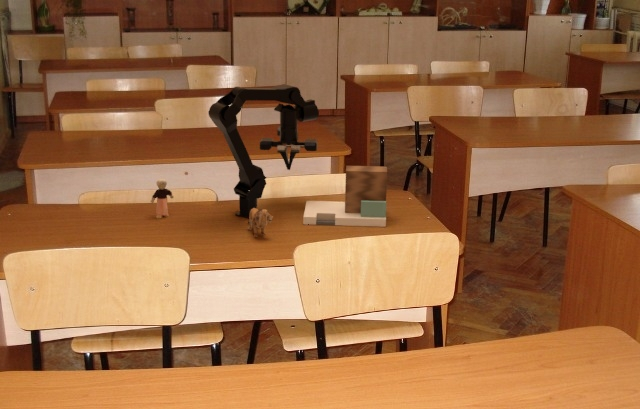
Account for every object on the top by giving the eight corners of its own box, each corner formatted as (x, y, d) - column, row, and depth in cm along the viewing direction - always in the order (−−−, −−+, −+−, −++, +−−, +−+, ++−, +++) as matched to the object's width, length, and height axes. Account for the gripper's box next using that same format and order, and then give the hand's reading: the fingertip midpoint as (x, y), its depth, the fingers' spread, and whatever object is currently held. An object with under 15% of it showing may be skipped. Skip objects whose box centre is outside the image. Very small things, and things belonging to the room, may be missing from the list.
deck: (303, 224, 248) (303, 201, 246) (306, 207, 263) (306, 186, 261) (385, 226, 247) (386, 204, 245) (384, 209, 262) (385, 188, 260)
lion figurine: (274, 238, 236) (274, 210, 234) (258, 241, 234) (258, 212, 231) (255, 223, 249) (255, 196, 246) (240, 225, 246) (239, 198, 243)
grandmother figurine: (157, 220, 250) (155, 182, 246) (150, 217, 252) (148, 179, 248) (176, 214, 255) (175, 177, 251) (169, 211, 258) (167, 174, 254)
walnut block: (344, 212, 251) (345, 170, 247) (345, 206, 257) (346, 165, 253) (385, 214, 251) (387, 172, 246) (385, 207, 256) (386, 166, 252)
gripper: (318, 118, 264) (318, 163, 269) (263, 117, 265) (263, 162, 270) (316, 126, 253) (316, 172, 258) (259, 125, 254) (259, 171, 259)
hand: (288, 169), depth 262 cm, fingers closed
